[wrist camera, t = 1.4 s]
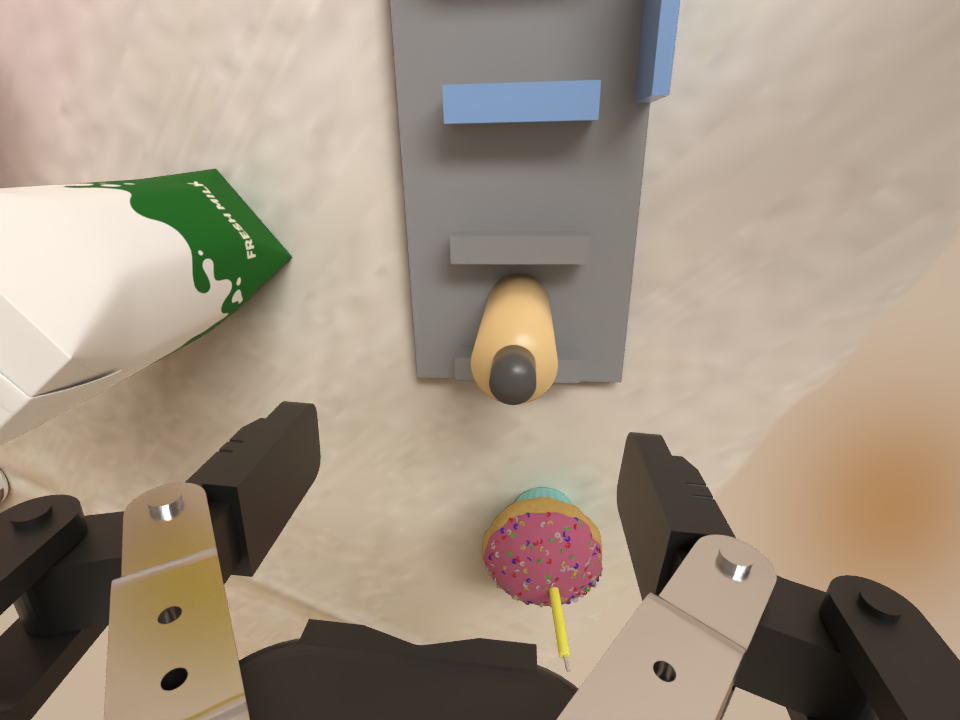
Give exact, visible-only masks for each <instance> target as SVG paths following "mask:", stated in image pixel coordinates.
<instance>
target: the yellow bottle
mask: <svg viewBox="0 0 960 720" xmlns="http://www.w3.org/2000/svg"><path fill="white" fill-rule="evenodd" d="M471 370H472V375H473V377H474V380H475V381H476V383H477V385H478V386H479V387H480V389H481V390H482V391H483V392H484V393H486V394H487V395H488V396H490V397H491V398H493V399H495V400H497V401H500V402H502V403H505V404H509V405H517V404H521V403H526V402H530V401H532V400H535V399H536V398H538V397H540V396H541V395H543V394H544V393H545V392H546V391H547V390H548V389H549V388H550V387H551V385H552V384H553V382H554V380H555V377H556V374H557V370H558V359H557V351H556V344H555V337H554V330H553V322H552V315H551V308H550V301H549V296H548V293H547V290H546V289H545V287H544V286H543V284H542V283H541V282H540V281H538V280H537V279H536V278H534V277H532V276H529V275H526V274H511V275H508V276H505V277H503V278H502V279H500V280H499V281H498V282H497V283H496V284H495V285H494V286H493V288H492V289H491V291H490V293H489V296H488V300H487V303H486V307H485V310H484V314H483V317H482V321H481V324H480V328H479V331H478V335H477V338H476V342H475V345H474V349H473V352H472V356H471Z"/></svg>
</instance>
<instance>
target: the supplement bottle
mask: <svg viewBox="0 0 960 720" xmlns="http://www.w3.org/2000/svg"><path fill="white" fill-rule="evenodd" d="M7 494H8V482H7V479H6V477H5V475H4V474H3V472H2V471H1V470H0V503H1V502H2V501H3V500H4V499H5V498H6V496H7Z"/></svg>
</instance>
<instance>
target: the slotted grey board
mask: <svg viewBox="0 0 960 720" xmlns="http://www.w3.org/2000/svg"><path fill="white" fill-rule="evenodd" d="M679 6H680V0H390V9H391V22H392V36H393V50H394V63H395V77H396V91H397V104H398V118H399V132H400V145H401V159H402V173H403V187H404V200H405V214H406V228H407V241H408V255H409V269H410V282H411V296H412V310H413V323H414V337H415V351H416V365H417V378H453V379H455V380H461V381H475V380H474V377H473V375H472V370H471V356H472V352H473V349H474V345H475V342H476V338H477V335H478V331H479V328H480V324H481V321H482V317H483V314H484V310H485V307H486V303H487V300H488V296H489V293H490V291H491V289H492V288H493V286H494V285H495V284H496V283H497V282H498V281H499V280H500V279H502V278H503V277H505V276H508V275H511V274H526V275H529V276H532V277H534V278H536V279H537V280H538V281H540V282H541V283H542V284H543V286H544V287H545V289H546V290H547V293H548V296H549V301H550V308H551V315H552V322H553V330H554V337H555V344H556V351H557V359H558V370H557V374H556V377H555V380H554V382H553V383H580V381H584V382H621V380H622V370H623V360H624V351H625V341H626V331H627V322H628V312H629V302H630V292H631V283H632V273H633V263H634V253H635V244H636V234H637V224H638V215H639V205H640V195H641V185H642V176H643V166H644V156H645V146H646V137H647V127H648V117H649V108H650V103H651V102H653V101H656V100H658V99H660V98H663V97H665V96H667V95H669V92H670V84H671V75H672V66H673V58H674V49H675V40H676V32H677V23H678V14H679Z"/></svg>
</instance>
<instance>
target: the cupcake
mask: <svg viewBox="0 0 960 720" xmlns="http://www.w3.org/2000/svg"><path fill="white" fill-rule="evenodd" d="M482 554H483V560H484V562H485V565H486V570H487V571H489V572H488V575H490V576H492V578H493V579H494V581H495V582H496V583H497V587H498V586H499V587H498V588H502V589H503V590H504V591H505V592H506V593H508V594H509V595H511V597H512V598H513V597H514V598H513V599H514V600H515V599H517V600H520V601H523V602H524V603H525V604H527V603H528V604H527V605H529V603H532V604H536V605H539V606H540V607H543V606H550V607H552V613H553V619H554V626H555V632H556V639H557V645H558V652H559V657H560V658H563V659H564V661H565V667H566V670H567V672H569V671H570V669H569V665H568V660H567V658H568V657H569V656H570V652H569V646H568V640H567V634H566V629H565V623H564V617H563V611H562V606H561V605H562V604H565V603H566V604H570V603H571V601H572V600H573V601H574V602H577V601H578V597H579V596H580V597H584V595H586V594H587V591H588V592H589V591H590V590H591V587H596V581H597V582H598V581H599V579H598V578H599V576H602V569H603V568H602V544H601V536H600V533H599V530H598V528H597V527H596V526H595V524H594V523H593V522H592V521H591V520H590V519H589V518H588V517H587V516H585V515H584V514H583V513H582V512H581V511H580V509H579V508H577V507H576V506H574V505H572V504H571V502H570V500H569V499H568V498H567V497H566V496H565V495H564V494H562V493H561V492H559V491H557V490H554V489H551V488H534V489H530V490H528V491H526V492H524V493H523V494H521V495H520V496H519V497H518V498H517V500H516V501H515V503H513V504H511V505H510V506H508V507H507V508H506V509H505V510H504V511H503V512H502V513H501V514H500V515H499V516H498V517H497V518H496V519H495V521H494V523H493V524H492V526H491V527H490V528H489V529H488V530H487V531H486V533H485V536H484V541H483V548H482ZM594 585H595V586H594ZM589 588H590V589H589ZM585 592H586V593H585ZM584 593H585V594H584ZM582 595H583V596H582ZM576 599H577V601H575V600H576ZM568 602H569V603H568ZM542 605H543V606H542Z"/></svg>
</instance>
